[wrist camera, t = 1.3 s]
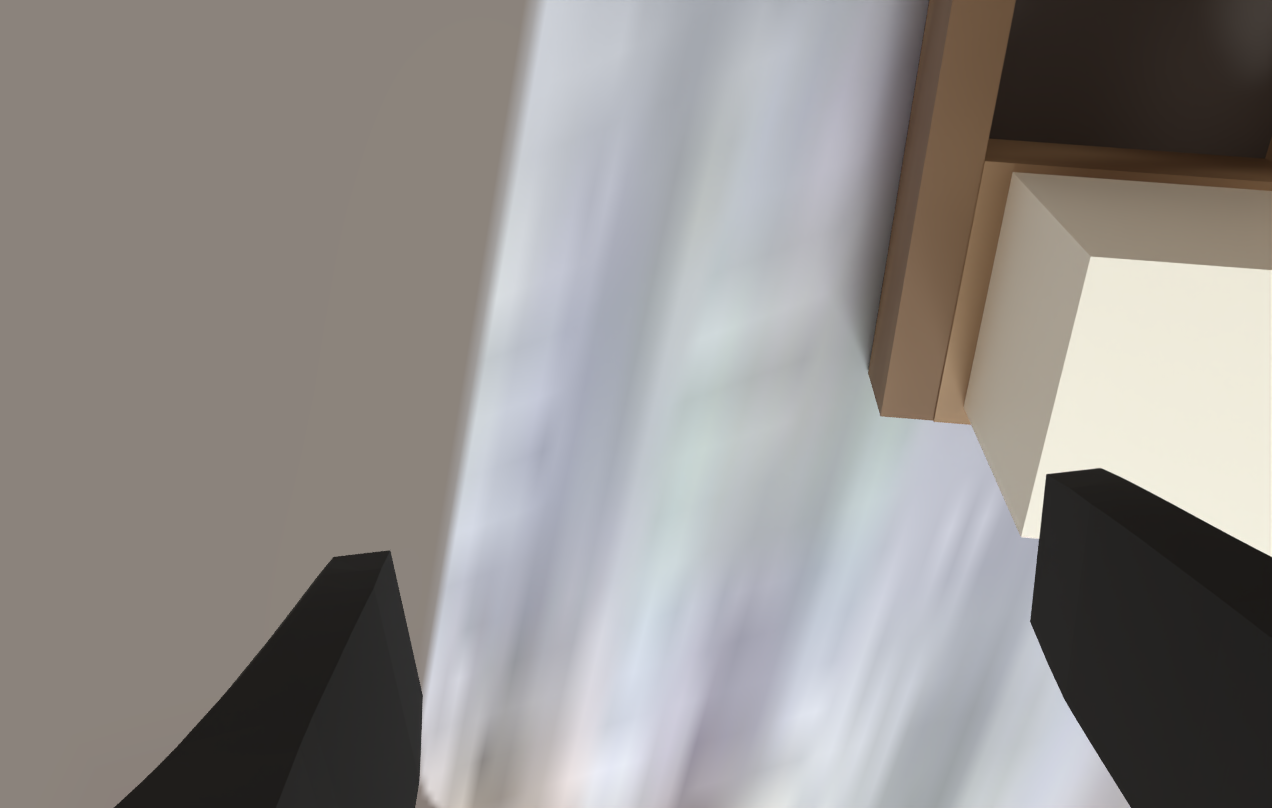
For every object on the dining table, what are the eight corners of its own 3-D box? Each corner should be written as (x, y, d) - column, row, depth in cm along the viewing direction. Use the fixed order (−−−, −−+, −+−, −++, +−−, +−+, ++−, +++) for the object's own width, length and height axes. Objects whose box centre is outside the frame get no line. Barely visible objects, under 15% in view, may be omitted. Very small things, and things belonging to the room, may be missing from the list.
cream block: (1280, 191, 19) (1429, 282, 15) (1205, 426, 21) (1320, 562, 17) (1012, 171, 19) (1090, 256, 15) (963, 407, 21) (1020, 536, 17)
